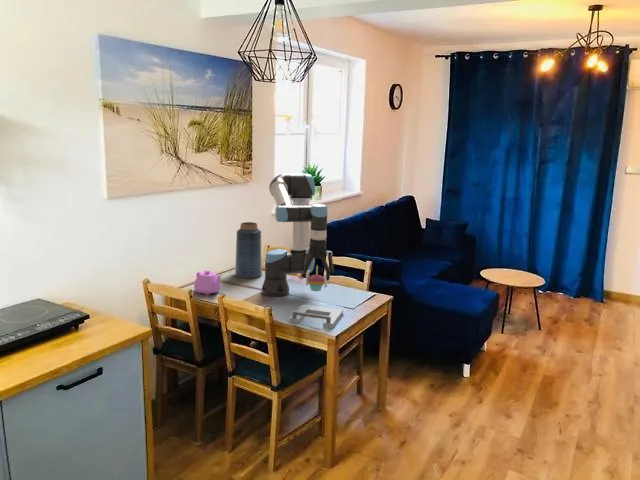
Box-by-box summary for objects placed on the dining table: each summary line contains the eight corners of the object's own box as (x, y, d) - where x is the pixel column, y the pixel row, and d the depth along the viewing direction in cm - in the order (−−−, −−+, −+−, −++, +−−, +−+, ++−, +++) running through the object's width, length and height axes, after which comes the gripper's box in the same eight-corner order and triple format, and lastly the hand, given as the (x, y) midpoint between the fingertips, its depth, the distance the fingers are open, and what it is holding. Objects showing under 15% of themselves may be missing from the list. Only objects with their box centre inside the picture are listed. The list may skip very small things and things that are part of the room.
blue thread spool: (233, 271, 323) (233, 221, 316) (260, 270, 327) (260, 221, 320) (236, 279, 307) (236, 226, 301) (263, 278, 311) (264, 226, 304)
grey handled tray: (289, 321, 245) (289, 311, 244) (302, 308, 264) (302, 298, 263) (332, 328, 240) (332, 317, 238) (342, 313, 258) (343, 303, 257)
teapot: (231, 293, 282) (231, 271, 279) (211, 300, 271) (211, 277, 268) (206, 285, 294) (206, 264, 291) (186, 291, 282) (185, 270, 280)
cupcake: (306, 286, 250) (307, 262, 247) (324, 287, 251) (325, 263, 248) (307, 292, 242) (308, 267, 239) (325, 292, 242) (327, 268, 240)
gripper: (293, 237, 240) (292, 285, 245) (338, 242, 235) (336, 290, 239) (299, 234, 247) (297, 280, 252) (342, 238, 242) (340, 285, 247)
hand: (316, 285), depth 246 cm, fingers closed on cupcake, 8 cm apart
